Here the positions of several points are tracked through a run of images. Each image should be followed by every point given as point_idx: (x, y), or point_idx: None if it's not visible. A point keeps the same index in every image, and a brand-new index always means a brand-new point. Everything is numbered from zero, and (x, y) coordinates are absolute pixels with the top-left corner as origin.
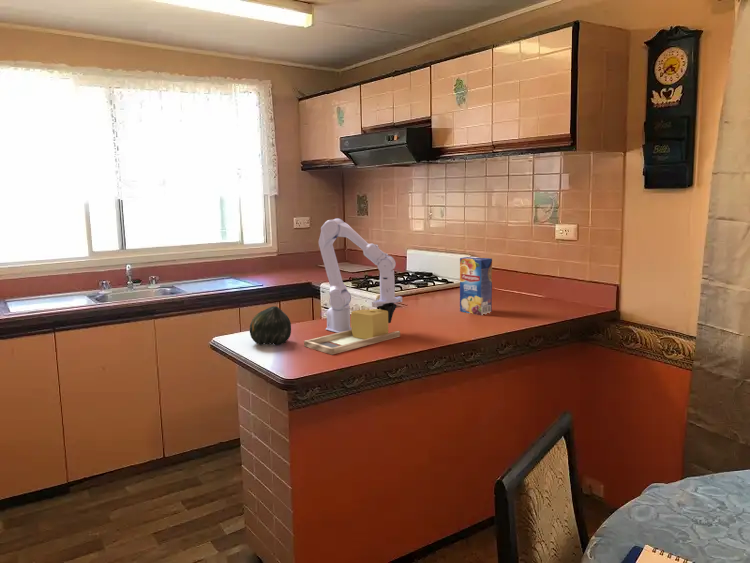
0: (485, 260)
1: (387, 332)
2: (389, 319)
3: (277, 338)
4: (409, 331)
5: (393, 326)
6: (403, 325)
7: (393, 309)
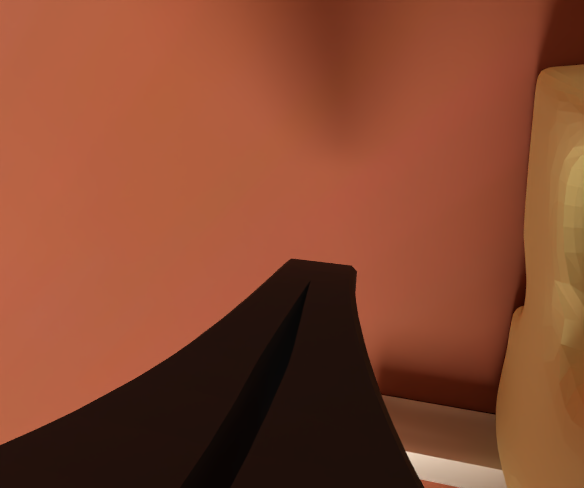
0: None
1: (582, 71)
2: (330, 296)
3: None
4: (85, 6)
5: (116, 322)
6: (10, 269)
7: (100, 456)
